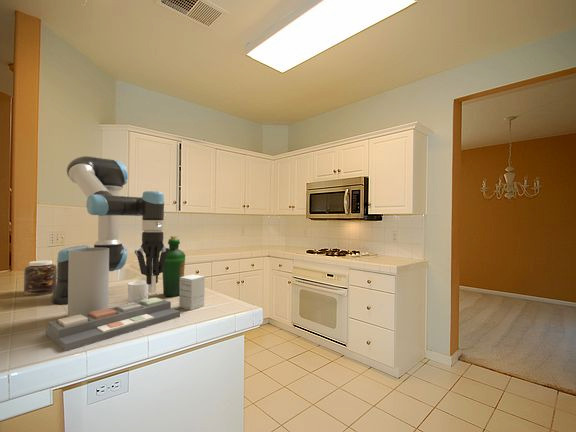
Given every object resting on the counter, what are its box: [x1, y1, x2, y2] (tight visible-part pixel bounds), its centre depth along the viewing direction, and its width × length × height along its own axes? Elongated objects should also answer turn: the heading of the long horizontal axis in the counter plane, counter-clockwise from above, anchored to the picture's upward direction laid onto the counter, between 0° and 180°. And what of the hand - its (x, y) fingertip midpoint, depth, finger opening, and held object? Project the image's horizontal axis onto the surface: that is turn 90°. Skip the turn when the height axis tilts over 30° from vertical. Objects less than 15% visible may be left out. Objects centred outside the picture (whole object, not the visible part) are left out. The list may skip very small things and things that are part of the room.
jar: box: [23, 259, 57, 297], centre depth 138 cm, size 12×12×15 cm
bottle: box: [162, 235, 186, 298], centre depth 138 cm, size 11×11×28 cm
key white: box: [57, 314, 88, 327], centre depth 91 cm, size 6×6×2 cm
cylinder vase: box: [67, 247, 110, 317], centre depth 108 cm, size 12×12×25 cm
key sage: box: [140, 297, 164, 307], centre depth 111 cm, size 6×6×2 cm
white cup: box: [127, 279, 149, 303], centre depth 120 cm, size 8×8×10 cm
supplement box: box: [178, 274, 205, 311], centre depth 121 cm, size 7×7×13 cm
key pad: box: [45, 297, 181, 352], centre depth 100 cm, size 18×36×4 cm, turn 144°
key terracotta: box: [89, 307, 116, 319], centre depth 98 cm, size 6×6×2 cm
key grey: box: [115, 302, 141, 313], centre depth 105 cm, size 6×6×2 cm
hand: (152, 292), depth 111 cm, fingers closed
